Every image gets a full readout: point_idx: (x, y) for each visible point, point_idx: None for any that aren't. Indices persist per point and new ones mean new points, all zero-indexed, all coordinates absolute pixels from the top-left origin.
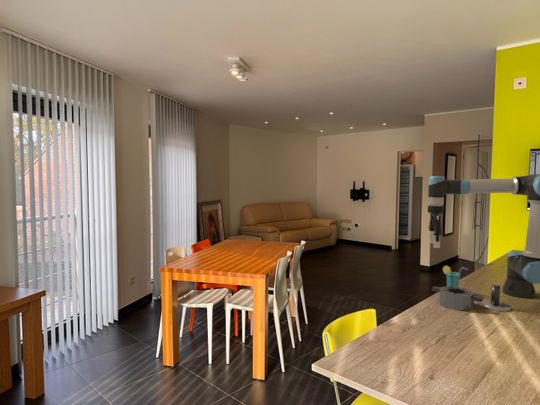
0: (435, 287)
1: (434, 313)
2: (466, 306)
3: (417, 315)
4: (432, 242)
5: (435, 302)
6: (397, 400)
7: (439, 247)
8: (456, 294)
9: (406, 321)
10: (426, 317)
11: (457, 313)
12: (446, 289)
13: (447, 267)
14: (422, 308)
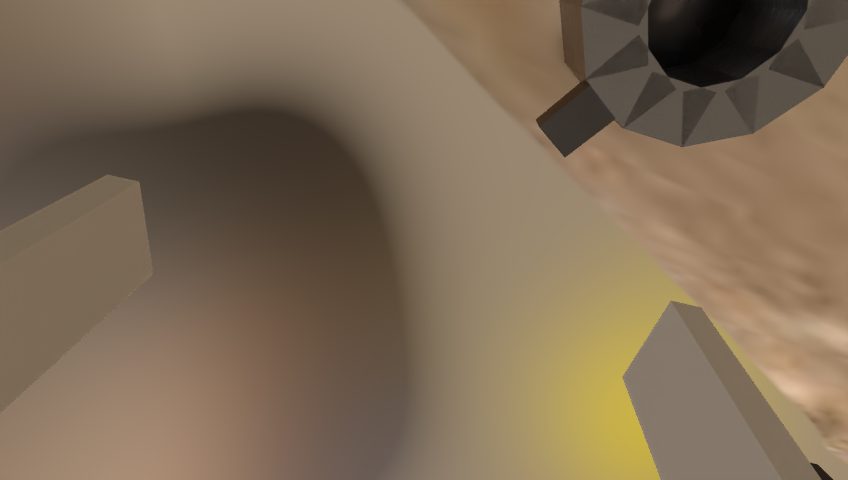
0: (574, 135)
1: (777, 211)
2: None
3: (775, 297)
4: (133, 231)
5: None
6: None
7: (704, 320)
8: (816, 60)
9: (825, 360)
10: (815, 270)
11: None
12: (666, 82)
13: None
14: (688, 240)
